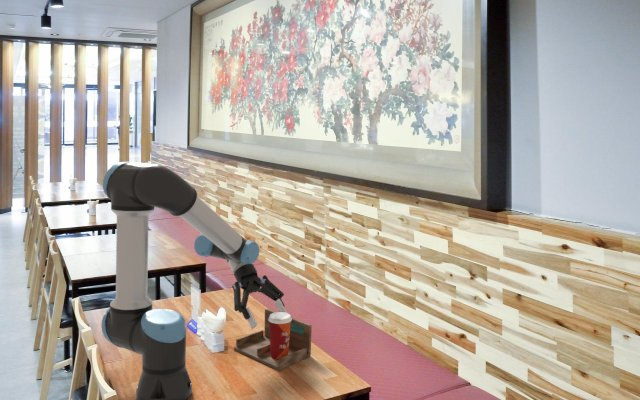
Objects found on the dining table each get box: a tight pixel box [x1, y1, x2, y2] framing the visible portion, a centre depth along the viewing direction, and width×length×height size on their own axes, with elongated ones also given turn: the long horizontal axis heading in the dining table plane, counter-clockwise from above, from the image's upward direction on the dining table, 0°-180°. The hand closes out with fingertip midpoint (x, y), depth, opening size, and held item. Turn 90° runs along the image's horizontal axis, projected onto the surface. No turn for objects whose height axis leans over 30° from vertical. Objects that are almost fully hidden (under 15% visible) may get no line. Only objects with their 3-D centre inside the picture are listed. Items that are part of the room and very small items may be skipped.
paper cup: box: [268, 311, 293, 360], centre depth 173 cm, size 8×8×14 cm
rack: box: [233, 308, 313, 371], centre depth 178 cm, size 15×22×11 cm
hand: (270, 321), depth 176 cm, fingers open, 13 cm apart
